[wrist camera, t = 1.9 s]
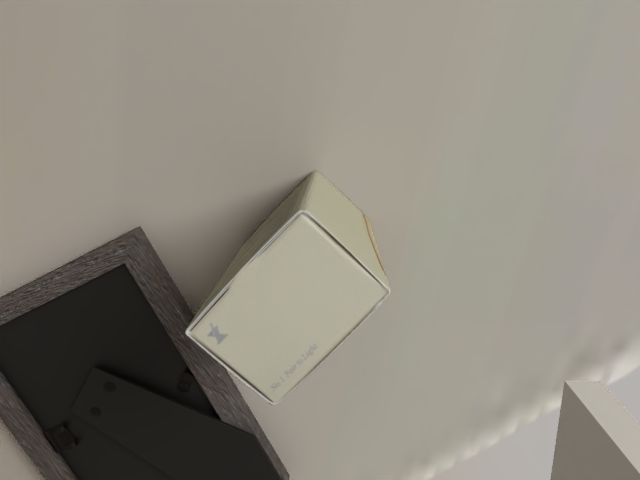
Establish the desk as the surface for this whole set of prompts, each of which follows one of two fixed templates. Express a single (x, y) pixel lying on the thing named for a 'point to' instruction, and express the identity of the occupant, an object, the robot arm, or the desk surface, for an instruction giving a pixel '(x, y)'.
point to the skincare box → (293, 291)
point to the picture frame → (121, 377)
